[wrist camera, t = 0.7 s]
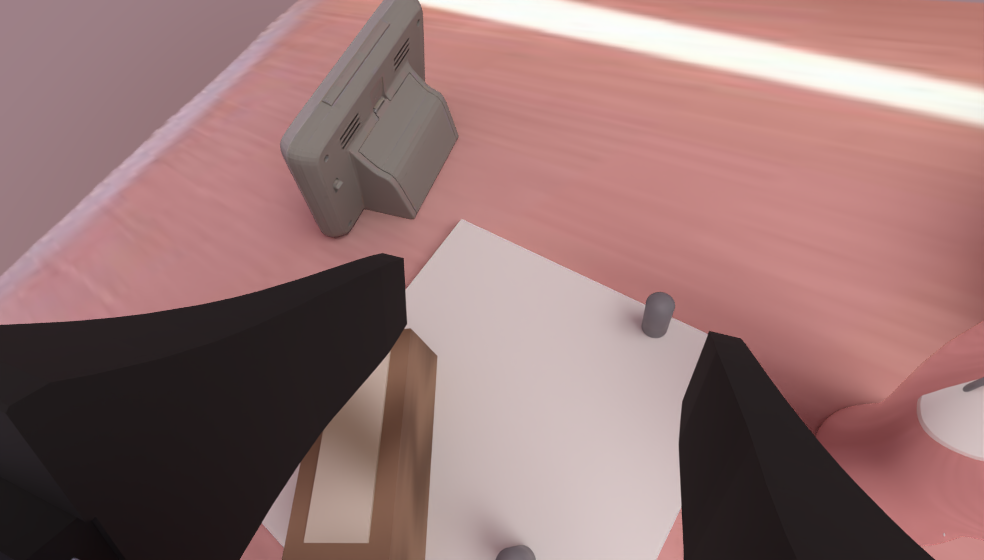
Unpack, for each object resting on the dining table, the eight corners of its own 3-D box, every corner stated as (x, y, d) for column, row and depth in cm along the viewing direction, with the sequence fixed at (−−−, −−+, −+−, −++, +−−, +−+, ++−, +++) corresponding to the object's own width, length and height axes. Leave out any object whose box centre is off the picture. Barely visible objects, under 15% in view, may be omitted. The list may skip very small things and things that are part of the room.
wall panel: (534, 810, 18) (518, 875, 15) (251, 500, 27) (200, 496, 23) (748, 361, 25) (771, 334, 21) (465, 226, 33) (449, 192, 30)
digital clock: (416, 95, 42) (364, -26, 33) (495, 119, 38) (461, -10, 29) (300, 225, 37) (201, 126, 28) (377, 267, 33) (293, 169, 24)
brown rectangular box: (424, 568, 22) (386, 577, 18) (332, 566, 23) (276, 575, 19) (437, 356, 28) (409, 327, 24) (362, 361, 28) (323, 334, 24)
